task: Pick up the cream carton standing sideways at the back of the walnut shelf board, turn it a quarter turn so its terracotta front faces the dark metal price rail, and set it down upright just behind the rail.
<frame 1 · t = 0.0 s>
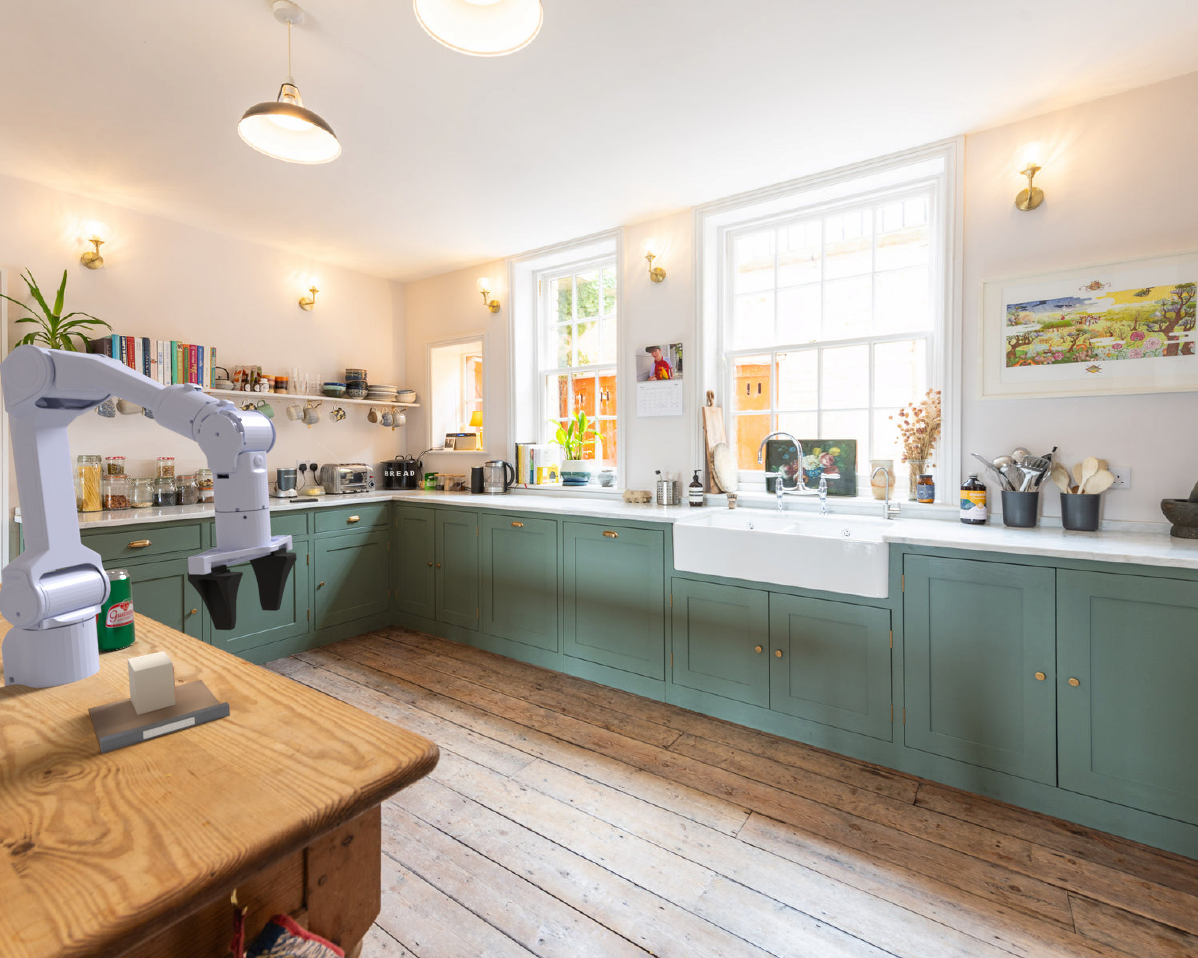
hand: (249, 618, 73), 10 cm above the table, tool pointing down, fingers open, 7 cm apart
price rail: (168, 725, 62), on the shelf board, point 2 cm above the table
shelf board: (159, 724, 67), on the table
soda can: (115, 648, 93), on the table
carton: (152, 702, 70), point 1 cm above the table, touching shelf board
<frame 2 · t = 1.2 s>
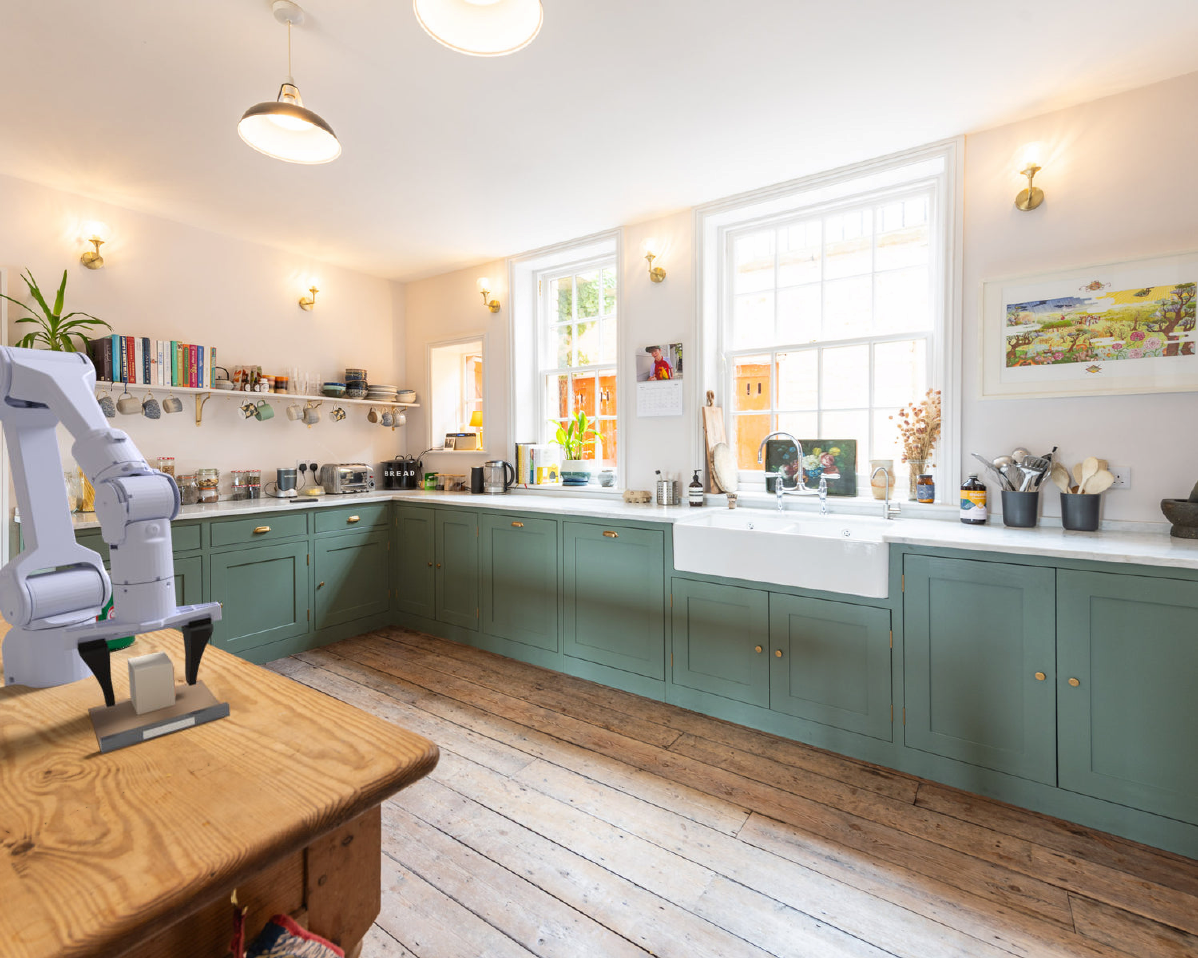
hand: (152, 692, 69), 3 cm above the table, tool pointing down, fingers open, 7 cm apart
nothing on the table moved.
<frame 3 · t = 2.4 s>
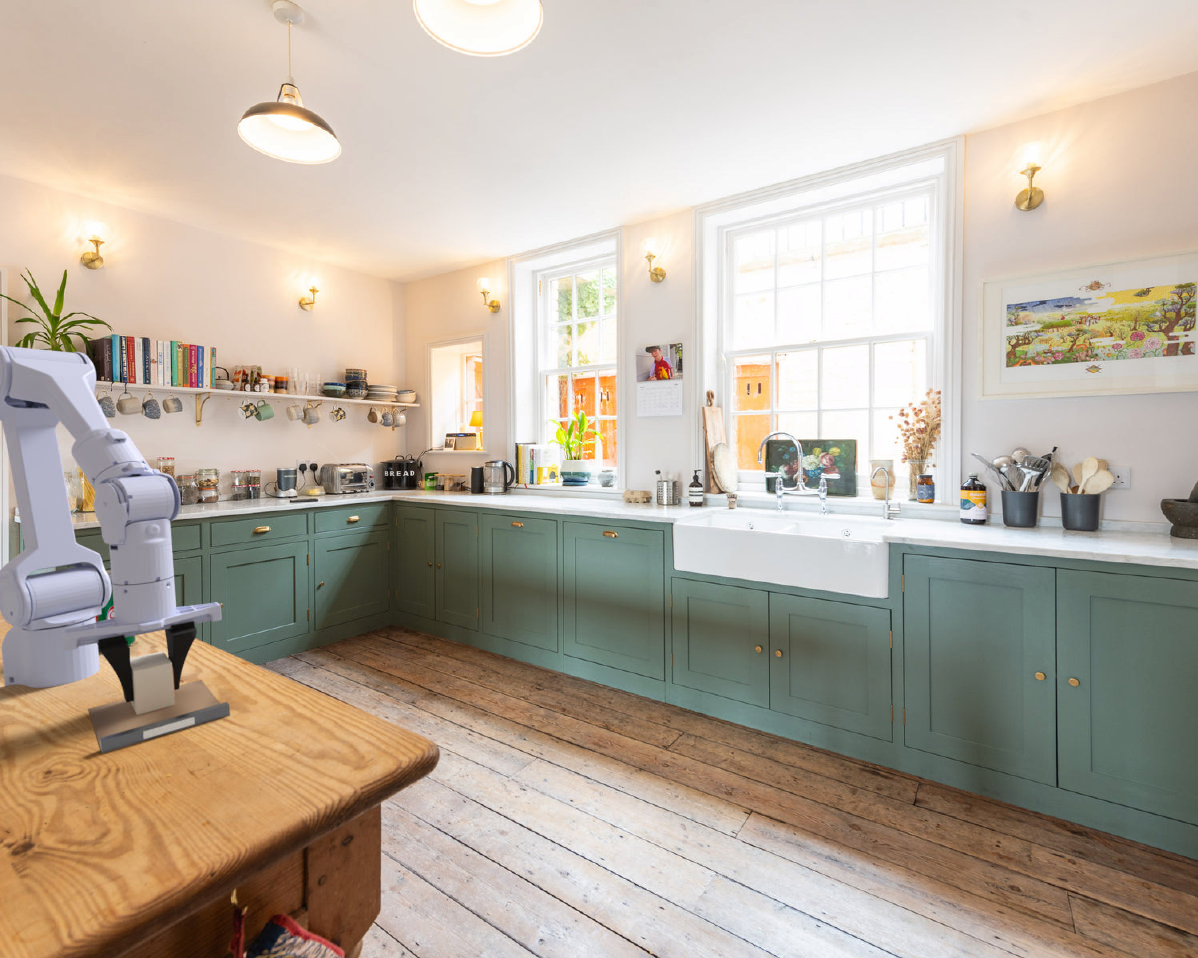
hand: (152, 693, 69), 3 cm above the table, tool pointing down, fingers closed on carton, 4 cm apart
carton: (152, 702, 70), point 2 cm above the table, touching gripper
everything else where it was.
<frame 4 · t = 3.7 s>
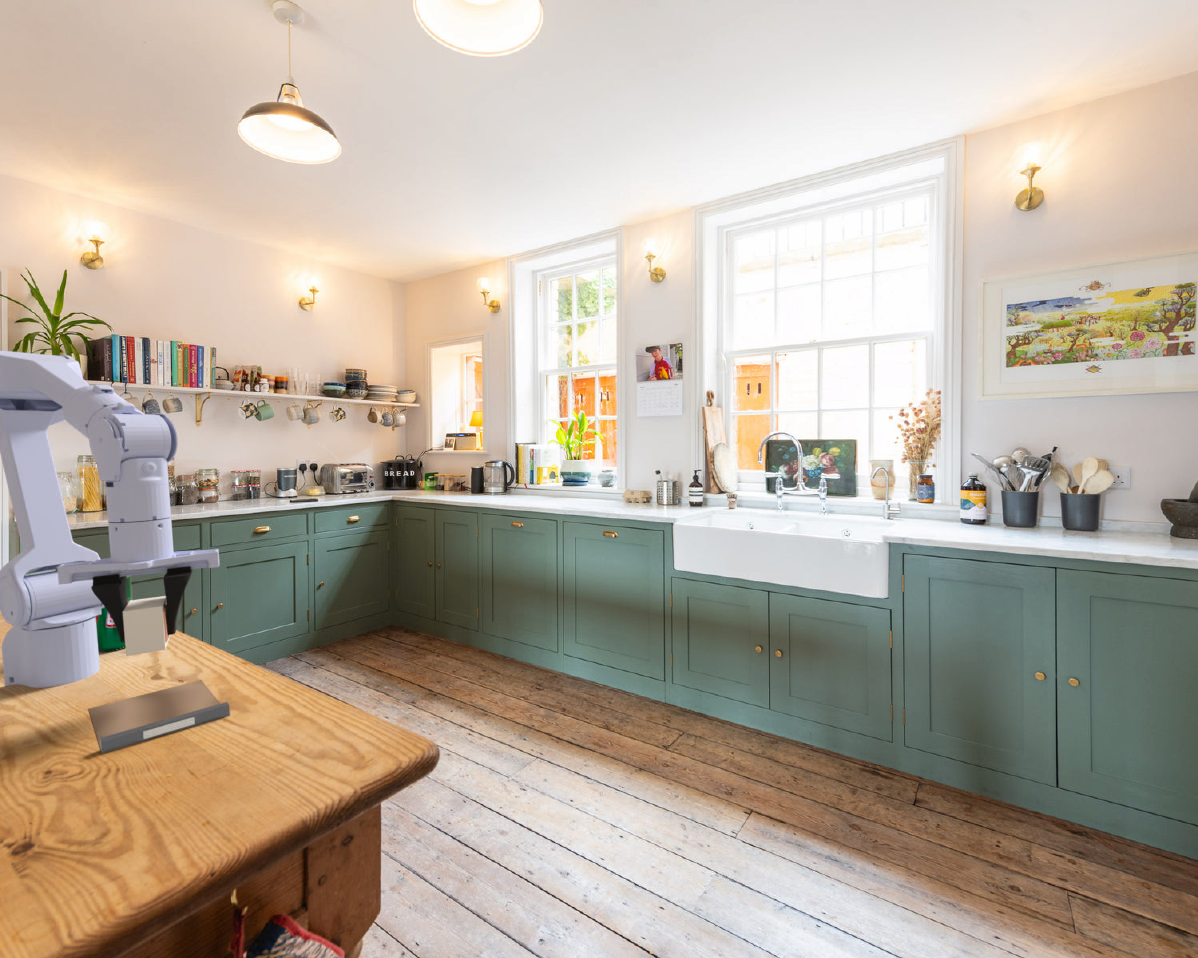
hand: (149, 635, 68), 10 cm above the table, tool pointing down, fingers closed on carton, 4 cm apart
carton: (149, 645, 68), point 9 cm above the table, touching gripper
everything else where it was.
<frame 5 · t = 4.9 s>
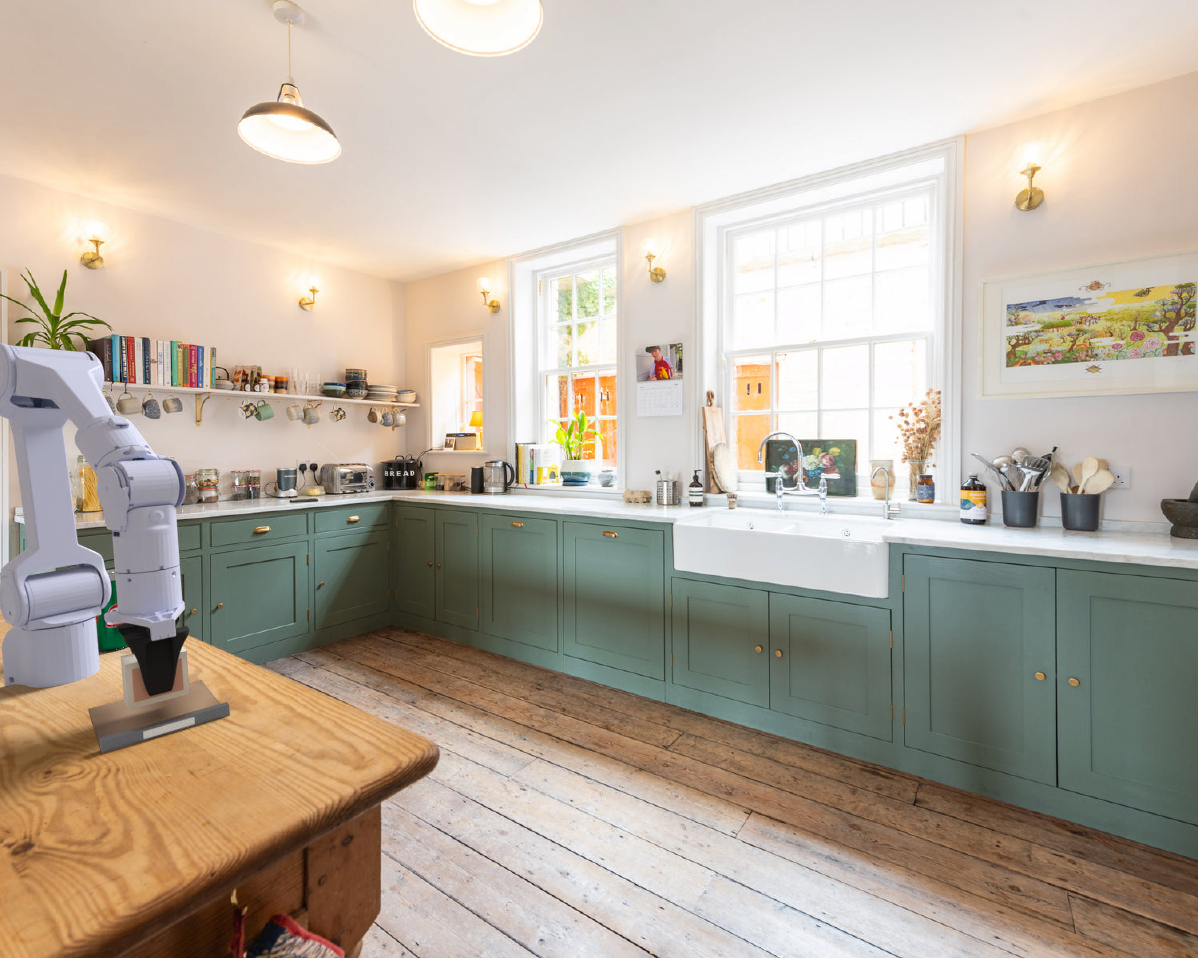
hand: (157, 687, 67), 5 cm above the table, tool pointing down, fingers closed on carton, 4 cm apart
carton: (157, 696, 67), point 3 cm above the table, touching gripper
everything else where it was.
when the fingers open (4 cm above the table, at t = 5.5 s): carton stays where it is, resting on shelf board.
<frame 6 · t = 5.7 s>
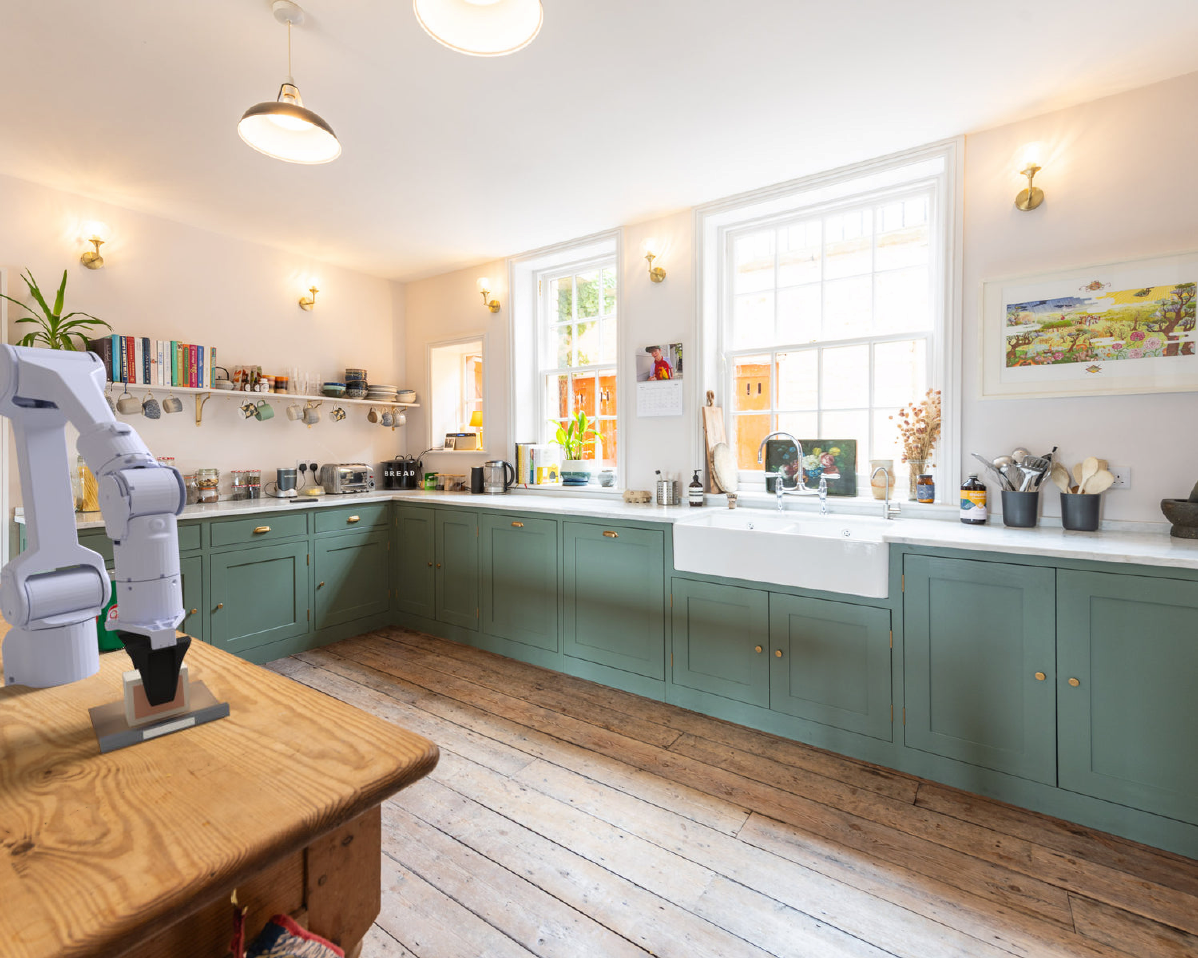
hand: (157, 694, 67), 4 cm above the table, tool pointing down, fingers open, 5 cm apart
carton: (158, 712, 67), point 1 cm above the table, touching shelf board
everything else where it was.
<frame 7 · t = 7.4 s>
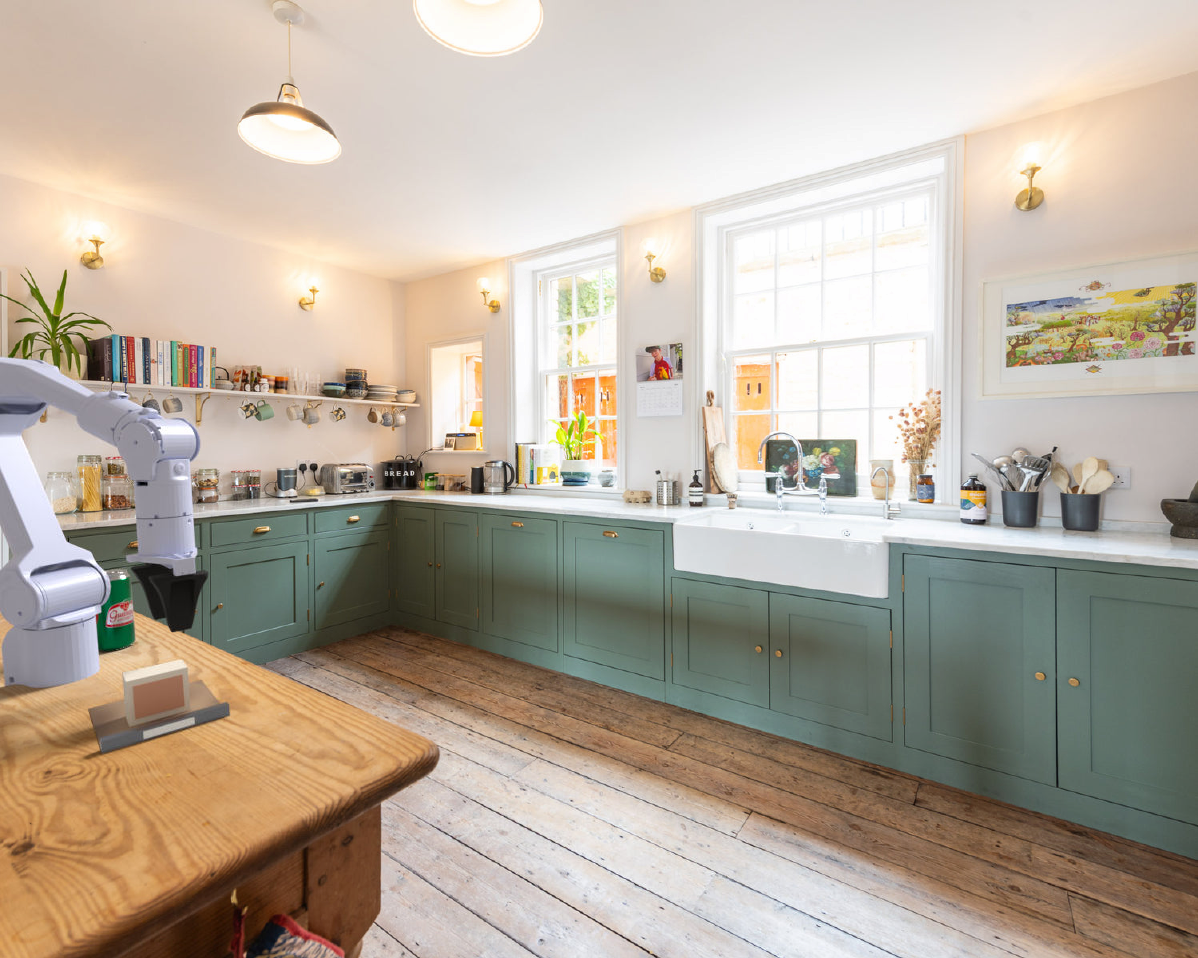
hand: (172, 623, 74), 9 cm above the table, tool pointing down, fingers open, 7 cm apart
nothing on the table moved.
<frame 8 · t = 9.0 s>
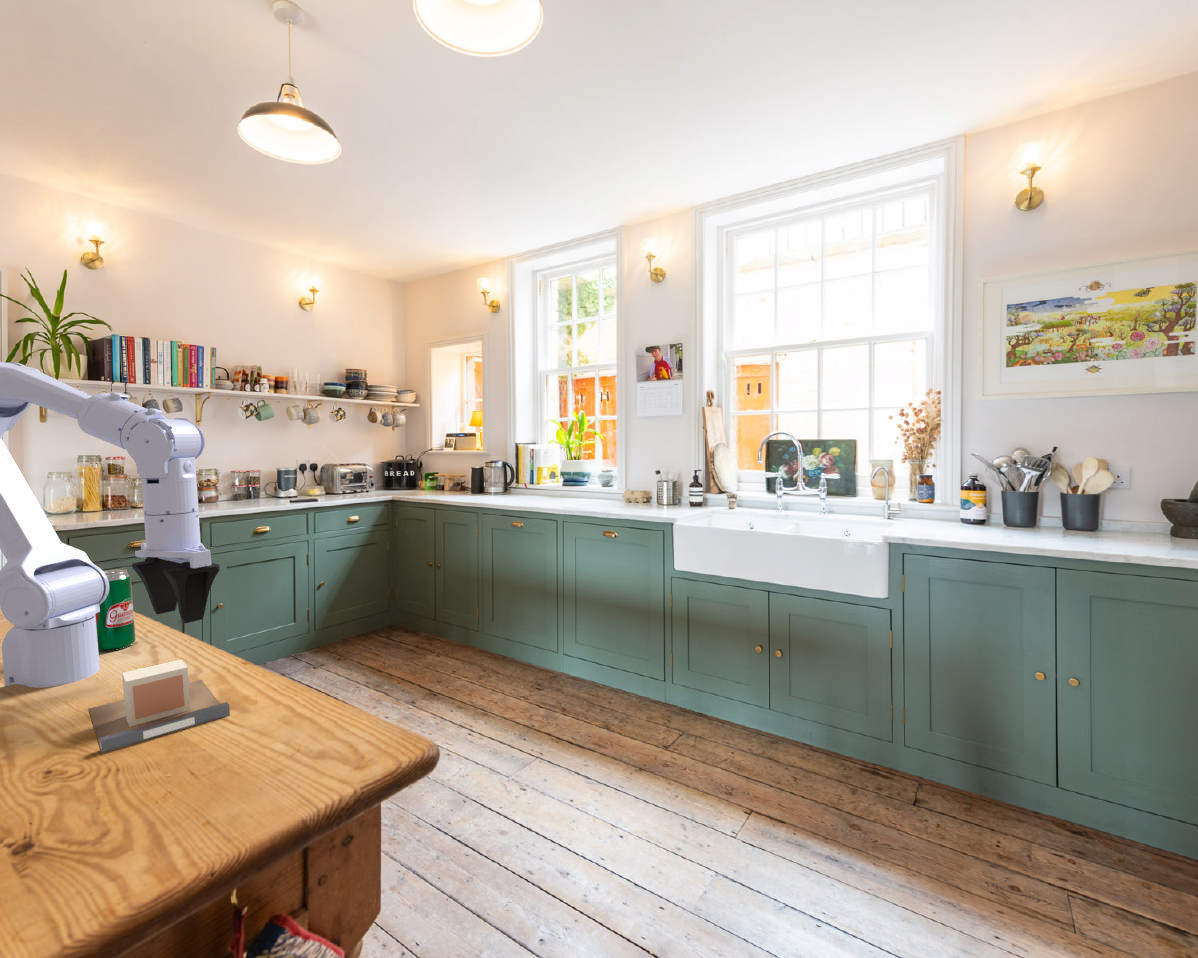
hand: (179, 616, 77), 9 cm above the table, tool pointing down, fingers open, 7 cm apart
nothing on the table moved.
at the end: carton 0.2 cm off-centre on the shelf board, point 1.5 cm above the shelf board's base; carton tilted 0°; the gripper is holding nothing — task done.
